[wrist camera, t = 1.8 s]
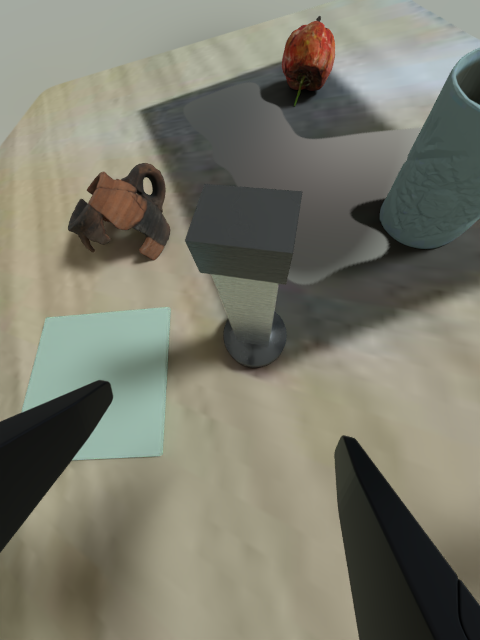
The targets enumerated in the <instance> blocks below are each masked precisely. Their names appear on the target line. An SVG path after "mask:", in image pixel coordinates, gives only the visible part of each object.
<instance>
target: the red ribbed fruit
mask: <svg viewBox="0 0 480 640" xmlns="http://www.w3.org/2000/svg"><path fill="white" fill-rule="evenodd" d="M316 20H317V21H314V22H311V23H310V24H308V25H302V26H301V27H300V28H298V29H297V30H295V31H293V32H292V33H291V35H290V37H289V38H288V40H287V42H286V45H285V50H284V54H283V59H282V69H283V73H284V74H285V76H286V79H287V83H288V85H289V86H290V87H291V88H292V89H295V90H298V93H297V97H296V100H295V103H294V107H295V105H296V103H297V99H298V97H299V95H300V90H301V89H302V90H303V89H307V90H309V91H315V90H319V89H320V88H321V87H322V86H323V85H324V83H325V81H326V80H327V78H328V76H329V74H330V72H331V70H332V66H333V63H334V58H335V41H334V37H333V34H332V33H331V31H330V30H329V29H328V28H325V27H324V24H323V23H321V22H320V20H321V16H319V17H318V18H317V19H316Z"/></svg>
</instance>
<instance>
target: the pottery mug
mask: <svg viewBox="0 0 480 640" xmlns="http://www.w3.org/2000/svg"><path fill="white" fill-rule="evenodd" d="M145 177H148V178H149V179H150V181H151V183H152V188H153V192H152V194H151V195H148V194H146V193H145V192H144V189H143V179H144V178H145ZM87 191H88V192H89V193H91V194H92V197H91V199H90V201H89V203H88V204H87V203H86V202H85V201H84V200H83V199H80V200H79V202H78V204H77V206H76V207H75V210H74V212H73V213H72V216H71V218H70V221H69V226H68V230H69V231H71V232H74V233H76V234H78V235H79V237H80V239H81V241H82V243H83V244H84V245H85V246H86V248H87V249H89V250H90V251H91V252H95V250H94V248H93V247H92V246H91V244H90V241H89V239H90V240H91V241H95V242H99V243H100V244H106V243H109V242H110V241H111V239H110V237H109V236H108V235H107V234H106V232H105V229H104V225H103V220H104V221H107V222H111V223H112V224H114V226H115V227H116V228H118V229H121V230H129V229H131V228H134V229H135V230H138V231H140V232H142V233H144V234H145V235H146V239H145V242H144V243H143V245H142V246H141V248H140V249H139V251H140V253H141V254H143V255H145V256H147V257H149V258H150V259H152V260H155V259H156V258H157V257H158V256H159V255H160V253H161V252H162V250H163V248H164V246H165V245H166V243H167V241H168V239H169V235H170V227H169V224H168V223H167V221H166V219H165V218H164V216H163V214H162V212H163V211H162V205H163V202H164V199H165V182H164V178H163V176H162V175H161V172H160V171H159V170H158V169H156V168H155V167H154V166H153V165H151V164H148V163H142V164H138V165H136V166H135V167H134V168H133V169H132V170H131V172H130V173H129V175H128V176H127V177H125V178H123V179H121V180H119V179H116V180H113V179H112V178H111V177H110V176H108V175H107V174H106V173H105V172H101V173H100V174H99V175H98V176H97V177H96V178H95V179H94V181H93V182H92V183H91V185H90V186H89V187H88V189H87ZM136 193H137V194H136Z"/></svg>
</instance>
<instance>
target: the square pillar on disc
mask: <svg viewBox="0 0 480 640" xmlns="http://www.w3.org/2000/svg"><path fill="white" fill-rule="evenodd" d="M301 197H302V192H301V191H289V190H276V189H263V188H249V187H237V186H224V185H211V184H204V187H203V190H202V193H201V196H200V199H199V201H198V204H197V207H196V210H195V213H194V216H193V219H192V222H191V225H190V227H189V230H188V233H187V236H186V239H185V242H186V244H187V246H188V248H189V250H190V252H191V254H192V257H193V259H194V261H195V263H196V265H197V267H198V269H199V271H200V273H207V274H211V275H212V277H213V280H214V283H215V285H216V288H217V290H218V293H219V296H220V298H221V301H222V303H223V306H224V308H225V311H226V314H227V316H228V321H227V322H226V325H225V328H224V343H225V346H226V348H227V350H228V352H229V353H230V355H231V356H232V357H233V358H234V359H235V360H236V361H237V362H238V363H240V364H242V365H244V366H247V367H252V368H259V367H264V366H267V365H269V364H271V363H272V362H274V361H275V360H276V359H277V358H278V357H279V355H280V354H281V352H282V350H283V348H284V346H285V343H286V328H285V325H284V322H283V320H282V319H281V317H280V316H279V315H278V314H277V313H276V312H275V311H274V310H275V304H276V298H277V292H278V285H279V284H286V282H287V277H288V273H289V269H290V264H291V259H292V255H293V249H294V243H295V236H296V230H297V223H298V216H299V210H300V203H301Z"/></svg>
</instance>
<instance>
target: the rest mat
mask: <svg viewBox="0 0 480 640" xmlns="http://www.w3.org/2000/svg"><path fill="white" fill-rule="evenodd" d="M170 311H171V309H170V308H169V307H163V308H151V309H140V310H128V311H117V312H105V313H94V314H82V315H71V316H60V317H48V318H46V320H45V324H44V328H43V331H42V335H41V339H40V343H39V347H38V351H37V354H36V358H35V362H34V366H33V370H32V374H31V378H30V381H29V385H28V389H27V393H26V397H25V401H24V404H23V408H22V412H24V411H27V410H29V409H31V408H34V407H36V406H38V405H41V404H43V403H45V402H48V401H50V400H52V399H55V398H57V397H59V396H62V395H64V394H67V393H69V392H71V391H74V390H76V389H78V388H81V387H83V386H85V385H88V384H90V383H92V382H95V381H97V380H104V381H108V382H110V384H111V388H112V392H113V401H112V403H111V404H110V406H109V408H108V409H107V411H106V412H105V414H104V415H103V417H102V418H101V420H100V422H99V423H98V425H97V426H96V428H95V429H94V431H93V432H92V434H91V435H90V437H89V438H88V440H87V441H86V442H85V444H84V445H83V446H82V448H81V449H80V450H79V451H78V453H77V454H76V455H75V457H74V458H73V459H72V460H85V459H106V458H128V457H149V456H161V455H162V454H163V437H164V419H165V401H166V383H167V365H168V347H169V329H170ZM22 412H21V413H22Z"/></svg>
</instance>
